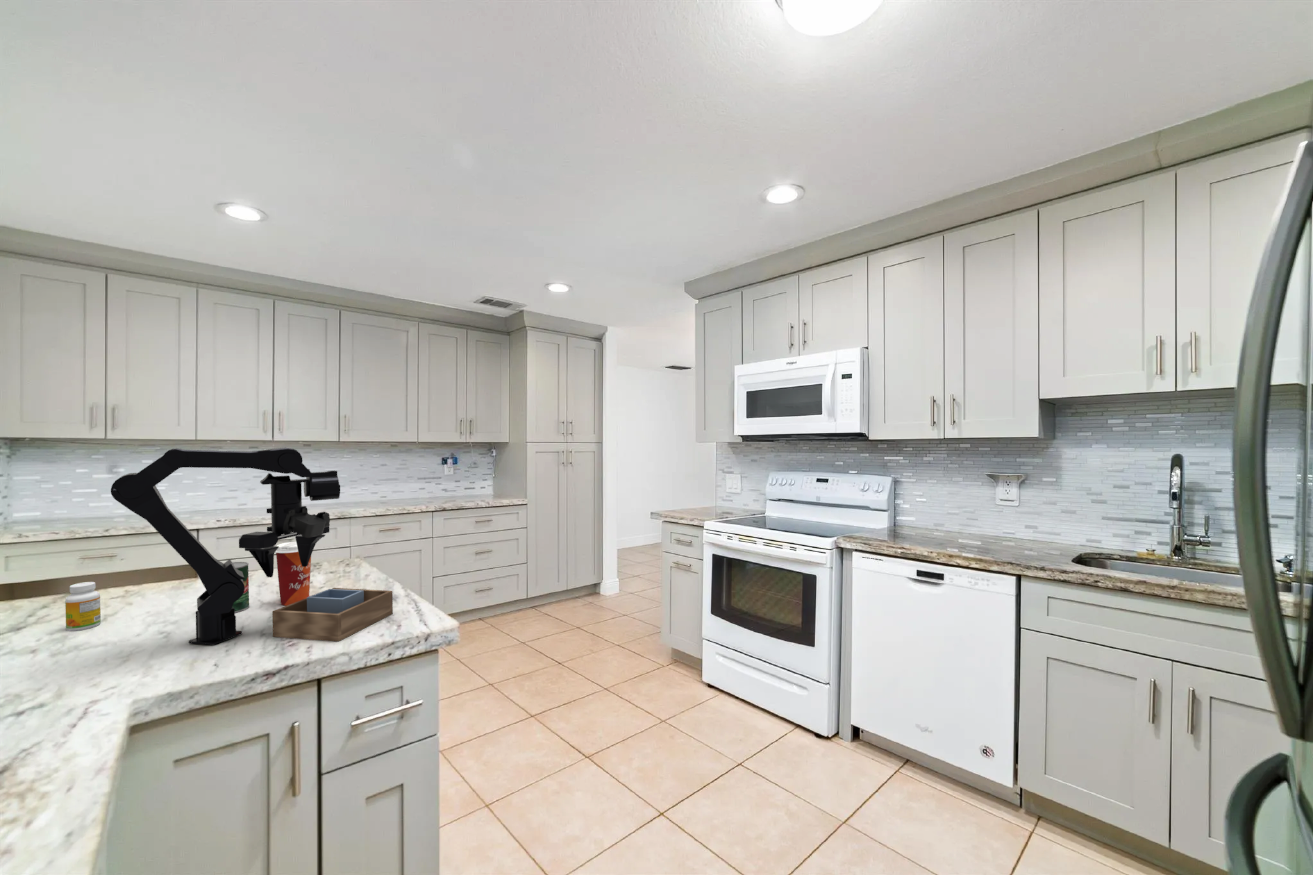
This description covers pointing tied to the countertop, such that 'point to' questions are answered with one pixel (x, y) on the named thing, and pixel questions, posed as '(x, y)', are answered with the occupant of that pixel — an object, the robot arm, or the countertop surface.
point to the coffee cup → (292, 574)
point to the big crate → (331, 618)
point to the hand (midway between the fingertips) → (287, 571)
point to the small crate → (334, 600)
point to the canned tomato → (244, 599)
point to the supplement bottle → (82, 607)
